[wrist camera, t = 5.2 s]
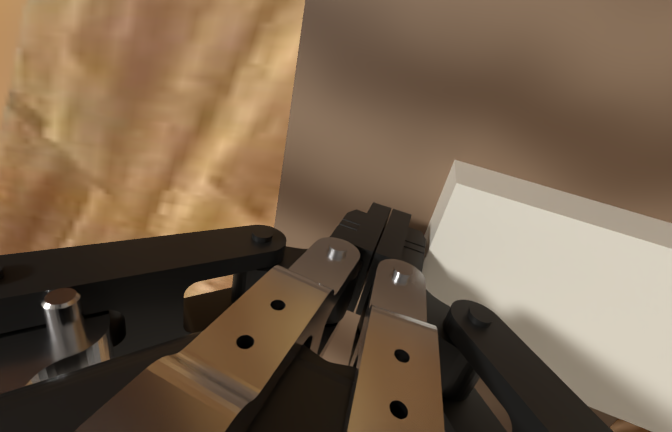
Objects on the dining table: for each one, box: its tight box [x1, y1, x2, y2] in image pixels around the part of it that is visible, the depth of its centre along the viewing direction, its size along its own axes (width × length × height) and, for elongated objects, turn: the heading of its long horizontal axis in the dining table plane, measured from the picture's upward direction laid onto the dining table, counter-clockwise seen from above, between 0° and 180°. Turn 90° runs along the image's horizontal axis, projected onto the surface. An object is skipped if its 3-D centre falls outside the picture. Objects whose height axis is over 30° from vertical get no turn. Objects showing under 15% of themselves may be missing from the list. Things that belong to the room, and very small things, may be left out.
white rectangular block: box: [422, 160, 672, 432], centre depth 11 cm, size 6×10×3 cm, turn 77°
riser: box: [274, 0, 672, 432], centre depth 14 cm, size 20×17×2 cm
